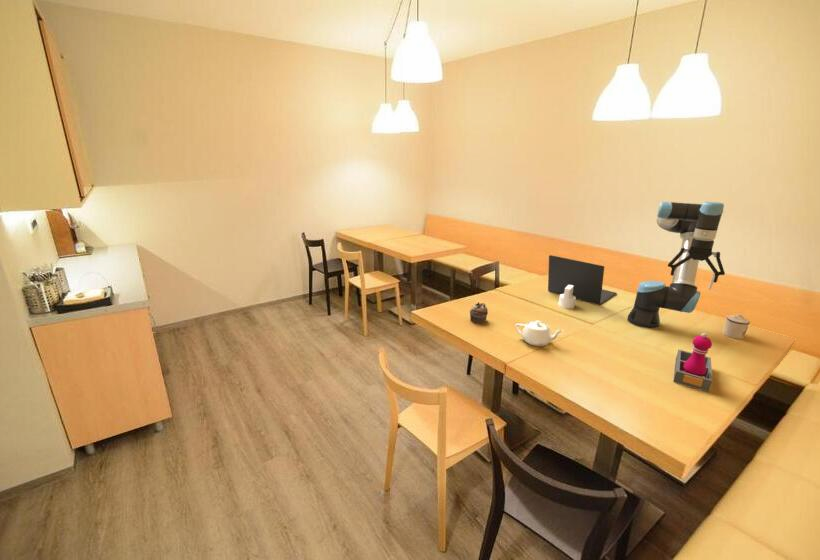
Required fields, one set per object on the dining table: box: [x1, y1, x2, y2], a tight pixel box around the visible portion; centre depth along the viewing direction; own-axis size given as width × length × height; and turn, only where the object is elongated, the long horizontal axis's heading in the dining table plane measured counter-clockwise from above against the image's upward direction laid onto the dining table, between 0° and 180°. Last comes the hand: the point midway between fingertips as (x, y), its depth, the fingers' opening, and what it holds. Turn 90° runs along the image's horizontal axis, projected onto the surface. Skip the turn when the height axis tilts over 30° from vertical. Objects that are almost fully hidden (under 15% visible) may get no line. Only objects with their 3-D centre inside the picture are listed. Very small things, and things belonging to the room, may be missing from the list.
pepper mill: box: [684, 332, 713, 377], centre depth 149 cm, size 7×7×20 cm
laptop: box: [547, 254, 618, 306], centre depth 243 cm, size 33×35×26 cm
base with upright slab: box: [557, 285, 577, 310], centre depth 225 cm, size 9×9×12 cm
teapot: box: [514, 320, 564, 347], centre depth 181 cm, size 22×14×11 cm, turn 65°
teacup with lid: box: [722, 313, 751, 340], centre depth 192 cm, size 12×9×12 cm
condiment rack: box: [673, 349, 713, 393], centre depth 156 cm, size 12×22×5 cm, turn 144°
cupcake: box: [469, 302, 488, 324], centre depth 203 cm, size 10×10×10 cm
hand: (690, 285), depth 168 cm, fingers open, 13 cm apart
